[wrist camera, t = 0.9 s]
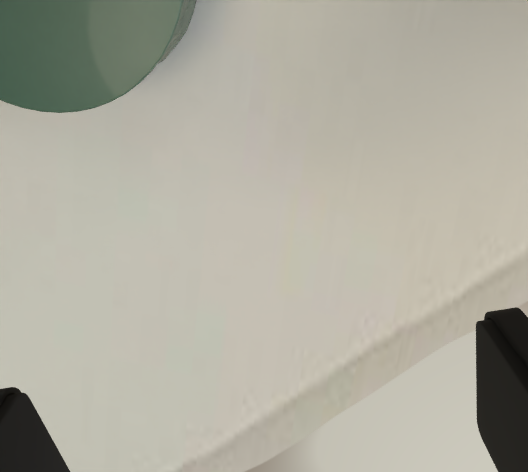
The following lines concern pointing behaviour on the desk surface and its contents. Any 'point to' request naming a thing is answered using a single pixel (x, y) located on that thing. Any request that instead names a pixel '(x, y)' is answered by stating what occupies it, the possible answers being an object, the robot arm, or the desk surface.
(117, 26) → the tin lid
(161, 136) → the desk surface
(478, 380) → the robot arm
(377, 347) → the desk surface
